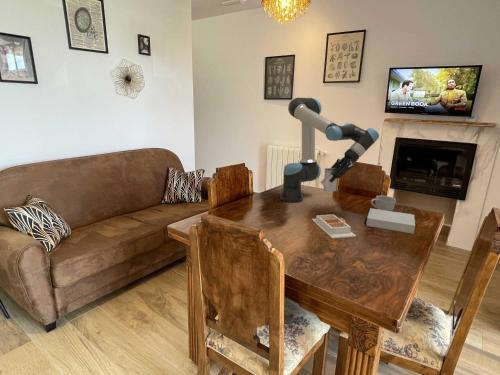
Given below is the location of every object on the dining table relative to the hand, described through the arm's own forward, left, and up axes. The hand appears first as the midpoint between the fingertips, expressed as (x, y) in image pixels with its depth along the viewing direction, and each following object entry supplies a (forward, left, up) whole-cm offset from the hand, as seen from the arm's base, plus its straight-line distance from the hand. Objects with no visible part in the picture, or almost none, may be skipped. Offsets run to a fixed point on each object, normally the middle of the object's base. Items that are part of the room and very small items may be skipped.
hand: (323, 184), depth 157 cm
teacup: (+36, +18, -19) cm, 45 cm away
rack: (+4, -13, -19) cm, 23 cm away
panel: (+4, +1, -3) cm, 5 cm away
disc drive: (+35, -3, -20) cm, 40 cm away
